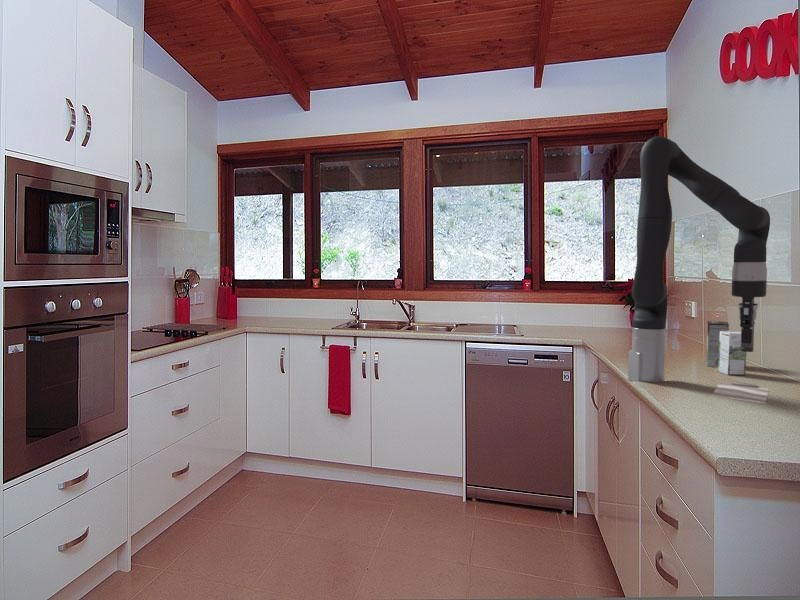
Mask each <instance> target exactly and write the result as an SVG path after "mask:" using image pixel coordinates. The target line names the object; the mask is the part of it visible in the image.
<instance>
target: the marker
mask: <svg viewBox="0 0 800 600" xmlns="http://www.w3.org/2000/svg"><path fill="white" fill-rule="evenodd" d="M752 317H753V315H752ZM754 322H755V321H753V329H752V342H751V343H742V342H741V350H740V351H745V352H747V353H753V352H754V345H755V344H754V343H755V342H754V340H755V324H754ZM744 323H750V321H747V320H745V321H744ZM750 330H751V329H750ZM740 331H741V335H742V329H741V328H740Z"/></svg>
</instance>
